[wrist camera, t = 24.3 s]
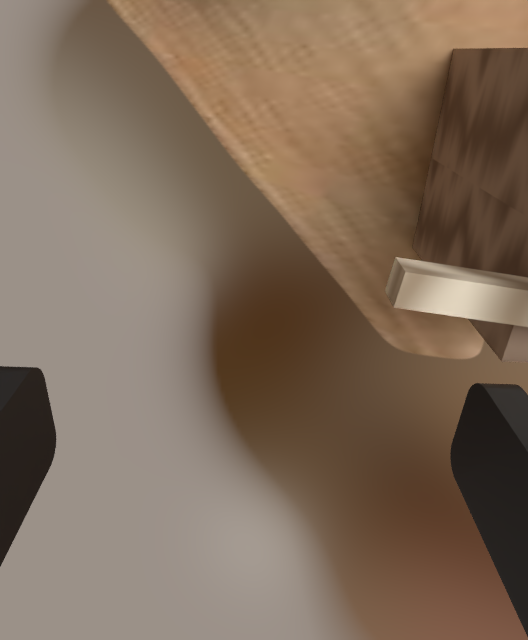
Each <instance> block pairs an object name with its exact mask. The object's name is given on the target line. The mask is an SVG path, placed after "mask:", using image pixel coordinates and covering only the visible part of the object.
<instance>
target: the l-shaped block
mask: <svg viewBox="0 0 528 640" xmlns="http://www.w3.org/2000/svg"><path fill="white" fill-rule="evenodd" d="M385 292H386V294H387V296H388V298H389V300H390V302H391V303H392V305H393V307H394V308H400V309H407V310H414V311H421V312H428V313H434V314H441V315H448V316H455V317H462V318H469V319H476V320H483V321H490V322H496V323H503V324H510V325H517V326H524V327H528V277H522V276H515V275H509V274H502V273H496V272H489V271H483V270H477V269H470V268H464V267H457V266H451V265H444V264H438V263H431V262H425V261H418V260H412V259H405V258H399V257H395V260H394V263H393V266H392V269H391V273H390V276H389V279H388V282H387V285H386V288H385Z"/></svg>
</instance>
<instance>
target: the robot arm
mask: <svg viewBox="0 0 528 640" xmlns="http://www.w3.org/2000/svg"><path fill="white" fill-rule="evenodd" d="M55 448H56V431H55V426H54V421H53V416H52V411H51V406H50V402H49V397H48V392H47V387H46V383H45V378H44V375H43V373H42V371H41V370H40V369H39V368H33V367H32V368H31V367H2V366H0V566H1V564H2V562H3V560H4V558H5V556H6V554H7V552H8V550H9V548H10V546H11V544H12V542H13V540H14V538H15V536H16V534H17V532H18V530H19V528H20V526H21V524H22V522H23V520H24V518H25V516H26V514H27V512H28V510H29V508H30V506H31V504H32V502H33V500H34V498H35V496H36V494H37V492H38V490H39V488H40V486H41V484H42V482H43V480H44V478H45V476H46V474H47V472H48V470H49V468H50V466H51V464H52V461H53V458H54V453H55ZM451 467H452V471H453V474H454V478H455V480H456V482H457V484H458V486H459V489H460V491H461V493H462V495H463V497H464V499H465V502H466V504H467V506H468V508H469V510H470V513H471V514H472V517H473V519H474V521H475V523H476V525H477V528H478V530H479V532H480V534H481V536H482V539H483V541H484V543H485V545H486V547H487V549H488V551H489V554H490V556H491V558H492V560H493V562H494V565H495V567H496V569H497V571H498V573H499V576H500V578H501V580H502V582H503V584H504V586H505V589H506V591H507V593H508V595H509V597H510V599H511V602H512V604H513V606H514V608H515V610H516V612H517V615H518V617H519V619H520V621H521V623H522V625H523V627H524V630H525V632H526V634H527V636H528V395H527V394H526V392H525V391H524V390H523V389H522V388H521V387H520V386H518V385H511V384H480V383H476V384H474V385H472V386H471V388H470V389H469V391H468V394H467V397H466V400H465V404H464V407H463V410H462V413H461V416H460V420H459V423H458V426H457V429H456V432H455V435H454V438H453V442H452V445H451Z"/></svg>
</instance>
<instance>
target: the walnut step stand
mask: <svg viewBox="0 0 528 640" xmlns="http://www.w3.org/2000/svg"><path fill="white" fill-rule="evenodd" d="M413 249H414V250H415V252H416V253H417V254H418V256H419V257H420V258H421V259H422V261H425V262H431V263H438V264H444V265H451V266H457V267H464V268H470V269H477V270H483V271H489V272H496V273H502V274H509V275H515V276H522V277H528V48H487V49H454V50H453V55H452V60H451V65H450V69H449V74H448V79H447V84H446V89H445V94H444V98H443V103H442V108H441V113H440V118H439V122H438V127H437V132H436V137H435V142H434V147H433V151H432V156H431V161H430V166H429V171H428V175H427V180H426V185H425V190H424V195H423V200H422V204H421V209H420V214H419V219H418V224H417V229H416V233H415V238H414V243H413ZM468 319H469V318H468ZM469 321H470V322H471V323H472V324H473V326H474V327H475V328H476V329H477V331H478V332H479V333H480V335H481V336H482V337H483V338H484V340H485V341H486V342H487V344H488V345H489V346H490V347H491V348H492V350H493V351H494V352H495V354H496V355H497V356H498V358H499V359H500V360H501V361H504V362H505V361H507V362H528V327H524V326H517V325H510V324H503V323H496V322H490V321H483V320H476V319H469Z"/></svg>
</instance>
